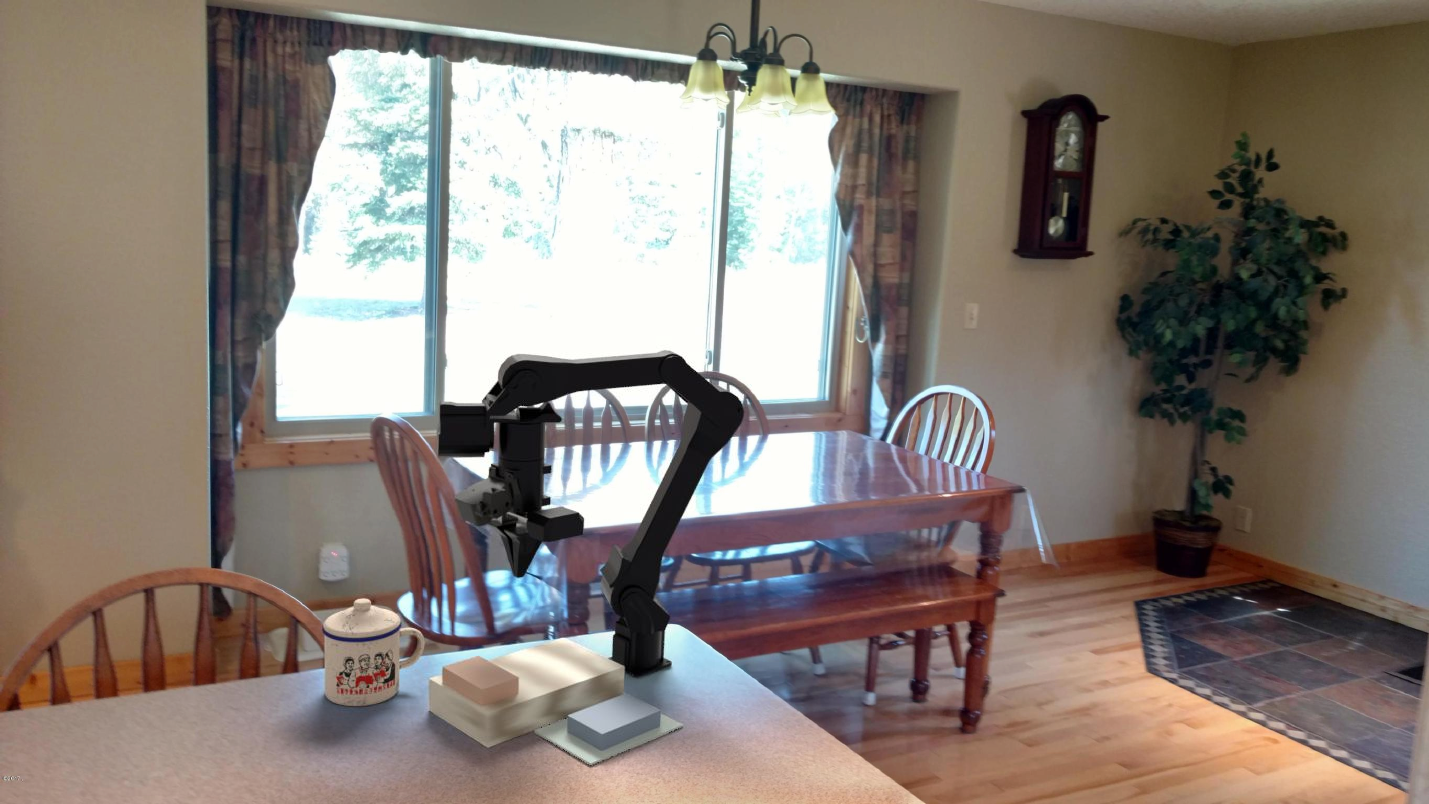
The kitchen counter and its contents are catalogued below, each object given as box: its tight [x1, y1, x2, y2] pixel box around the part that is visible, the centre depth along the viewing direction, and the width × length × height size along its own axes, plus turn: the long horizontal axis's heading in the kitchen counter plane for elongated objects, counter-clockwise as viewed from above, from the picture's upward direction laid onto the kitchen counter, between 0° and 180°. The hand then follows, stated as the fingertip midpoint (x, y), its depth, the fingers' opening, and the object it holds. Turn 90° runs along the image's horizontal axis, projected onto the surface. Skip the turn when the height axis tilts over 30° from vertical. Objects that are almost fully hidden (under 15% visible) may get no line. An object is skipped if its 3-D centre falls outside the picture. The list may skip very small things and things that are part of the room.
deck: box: [428, 637, 625, 748], centre depth 130 cm, size 20×12×4 cm, turn 136°
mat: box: [534, 713, 684, 766], centre depth 124 cm, size 14×10×1 cm
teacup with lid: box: [321, 598, 425, 707], centre depth 131 cm, size 12×9×12 cm
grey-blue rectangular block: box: [567, 692, 662, 751], centre depth 124 cm, size 9×6×2 cm, turn 137°
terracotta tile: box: [441, 655, 519, 706], centre depth 124 cm, size 5×8×2 cm, turn 46°
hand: (518, 576), depth 136 cm, fingers closed
